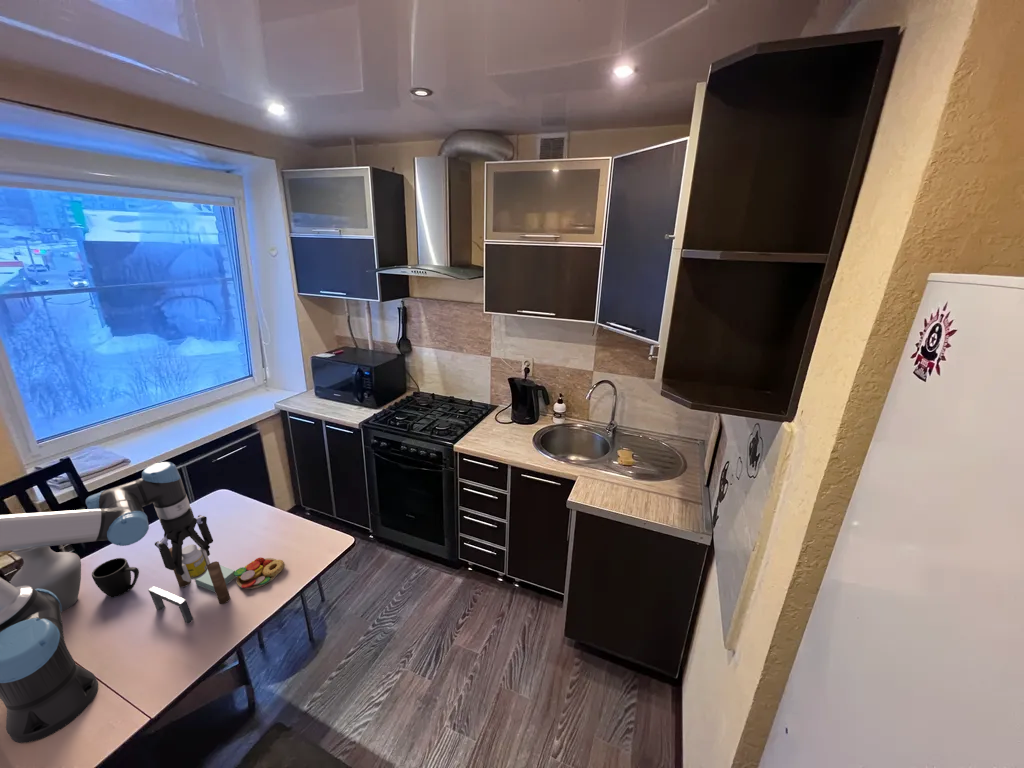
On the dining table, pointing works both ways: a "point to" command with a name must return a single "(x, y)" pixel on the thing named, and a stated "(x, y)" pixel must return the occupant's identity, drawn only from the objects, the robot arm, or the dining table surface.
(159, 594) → the rail hurdle
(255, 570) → the toy food set
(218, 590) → the post near
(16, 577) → the vase
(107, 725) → the dining table surface
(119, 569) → the mug
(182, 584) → the post far
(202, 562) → the supplement bottle
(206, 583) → the stand
